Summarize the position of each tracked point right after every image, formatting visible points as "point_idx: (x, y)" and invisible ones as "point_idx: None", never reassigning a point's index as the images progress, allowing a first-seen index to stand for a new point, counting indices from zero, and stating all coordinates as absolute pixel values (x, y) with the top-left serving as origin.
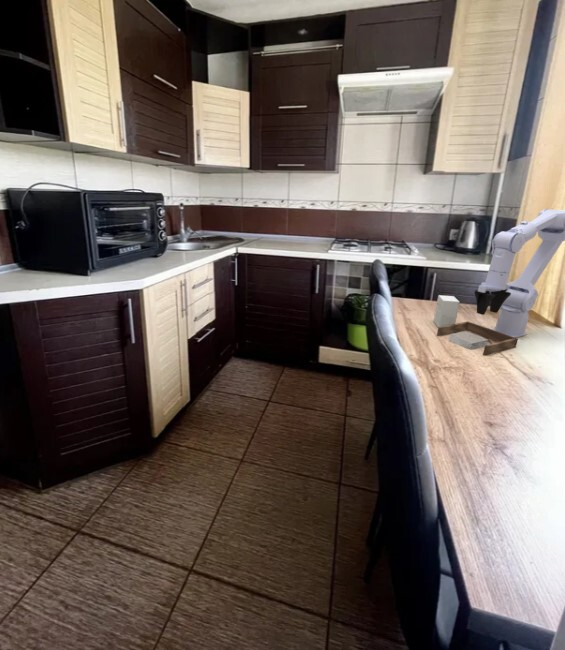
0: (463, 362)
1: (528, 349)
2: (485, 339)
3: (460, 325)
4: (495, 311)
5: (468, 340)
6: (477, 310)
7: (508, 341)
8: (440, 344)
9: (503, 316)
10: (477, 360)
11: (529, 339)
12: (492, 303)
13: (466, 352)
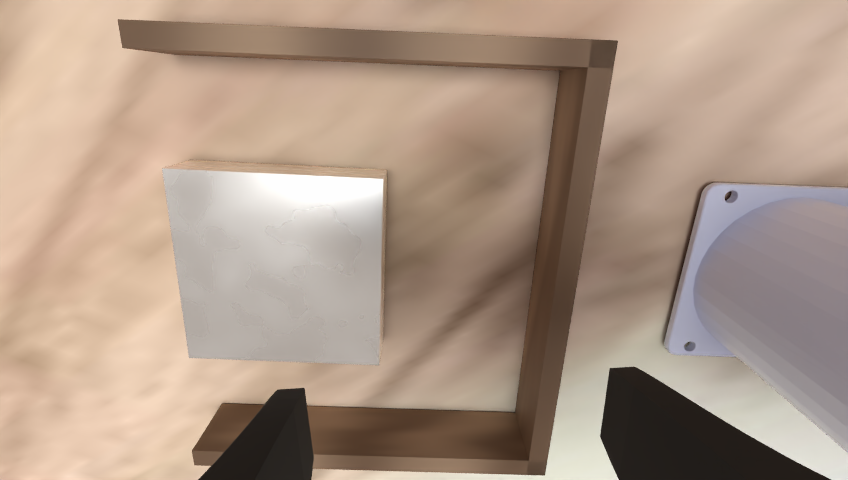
0: (18, 413)
1: (565, 466)
2: (363, 353)
3: (456, 62)
4: (610, 442)
5: (212, 314)
6: (260, 418)
7: (429, 470)
8: (62, 183)
9: (820, 343)
10: (123, 430)
11: (769, 396)
12: (689, 464)
13: (148, 345)
